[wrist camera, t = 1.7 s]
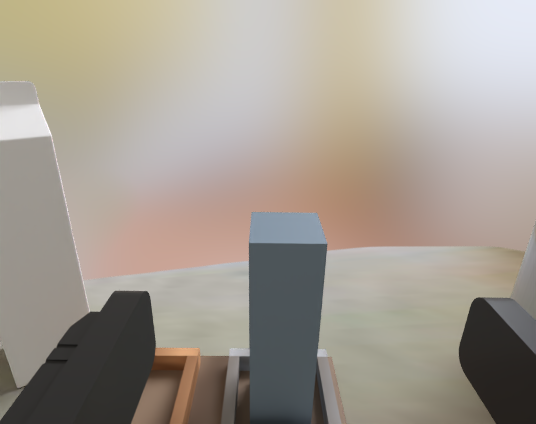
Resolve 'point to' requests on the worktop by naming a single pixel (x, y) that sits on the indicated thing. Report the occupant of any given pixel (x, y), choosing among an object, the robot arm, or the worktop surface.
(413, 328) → the worktop surface
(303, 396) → the post
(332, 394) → the socket board
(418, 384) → the worktop surface
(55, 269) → the milk
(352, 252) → the worktop surface
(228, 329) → the worktop surface
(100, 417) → the robot arm
